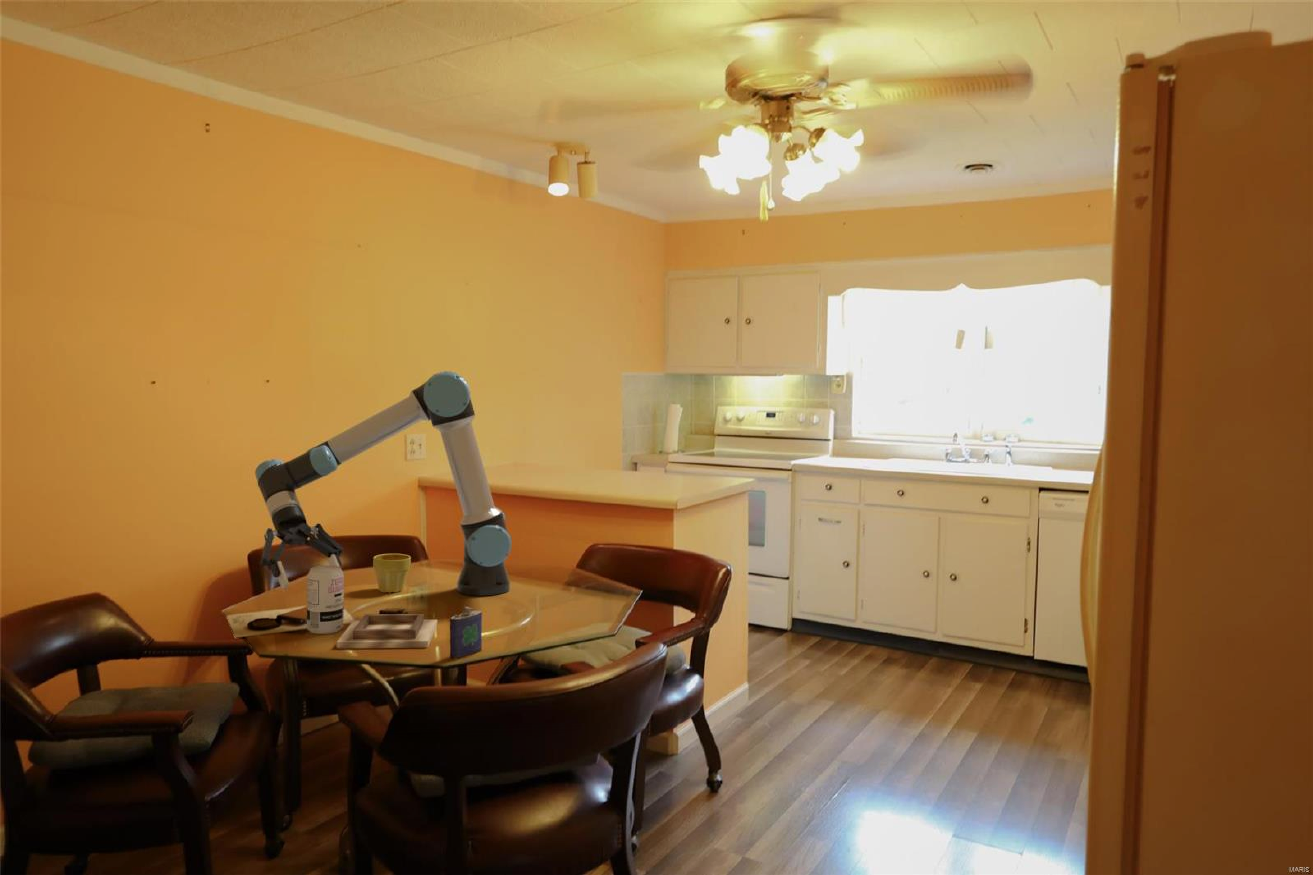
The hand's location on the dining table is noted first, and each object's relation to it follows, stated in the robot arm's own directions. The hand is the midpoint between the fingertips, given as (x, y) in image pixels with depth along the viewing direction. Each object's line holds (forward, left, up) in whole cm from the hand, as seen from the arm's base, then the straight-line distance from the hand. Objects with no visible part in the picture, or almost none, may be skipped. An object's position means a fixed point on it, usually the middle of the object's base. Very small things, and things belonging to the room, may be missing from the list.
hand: (313, 582), depth 211 cm
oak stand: (-19, +9, -11) cm, 24 cm away
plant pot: (-12, -37, -11) cm, 41 cm away
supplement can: (-3, +3, -11) cm, 12 cm away
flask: (-38, +23, -11) cm, 46 cm away
